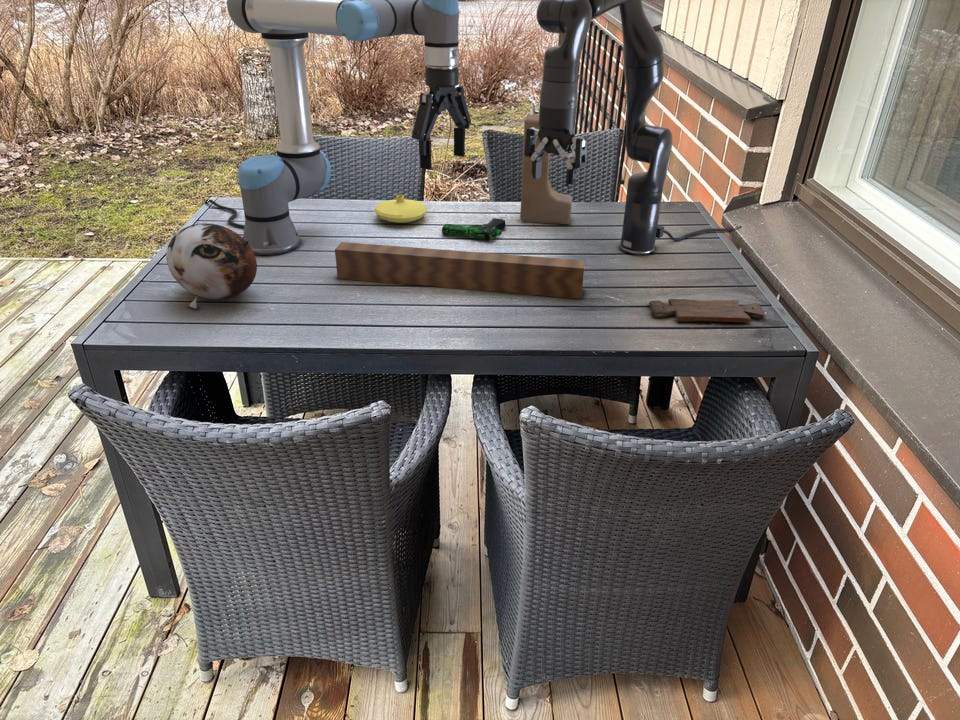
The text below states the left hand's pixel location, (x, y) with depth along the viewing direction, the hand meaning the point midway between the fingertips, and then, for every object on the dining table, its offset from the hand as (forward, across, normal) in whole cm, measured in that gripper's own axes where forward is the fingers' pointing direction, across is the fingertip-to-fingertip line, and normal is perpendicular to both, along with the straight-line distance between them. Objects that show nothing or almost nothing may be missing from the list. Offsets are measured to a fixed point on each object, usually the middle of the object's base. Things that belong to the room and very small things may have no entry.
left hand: (443, 162), depth 170 cm
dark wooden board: (+28, +14, -64) cm, 71 cm away
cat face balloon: (+28, -43, +35) cm, 62 cm away
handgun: (+28, +28, +8) cm, 40 cm away
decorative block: (+28, +49, -3) cm, 56 cm away
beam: (+28, -5, -8) cm, 29 cm away
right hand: (-1, -2, -30) cm, 31 cm away
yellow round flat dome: (+28, +24, +33) cm, 49 cm away
